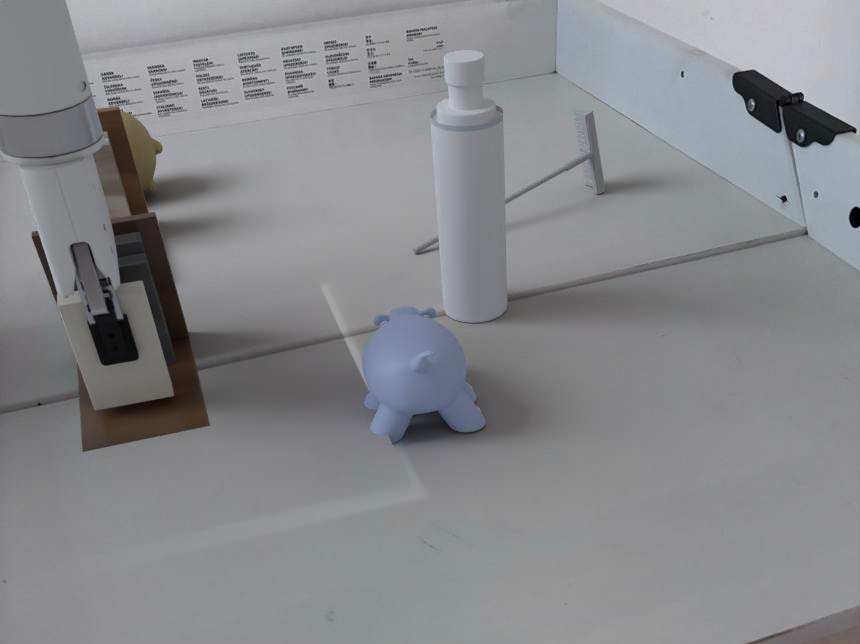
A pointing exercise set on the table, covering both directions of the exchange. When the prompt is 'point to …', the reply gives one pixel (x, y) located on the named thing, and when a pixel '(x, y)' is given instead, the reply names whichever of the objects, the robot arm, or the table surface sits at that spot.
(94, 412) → the stand
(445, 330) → the hippopotamus toy
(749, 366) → the table surface
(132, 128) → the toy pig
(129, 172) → the wooden bookshelf
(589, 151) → the grey toy rake
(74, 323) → the white book
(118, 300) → the robot arm
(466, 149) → the spray bottle
